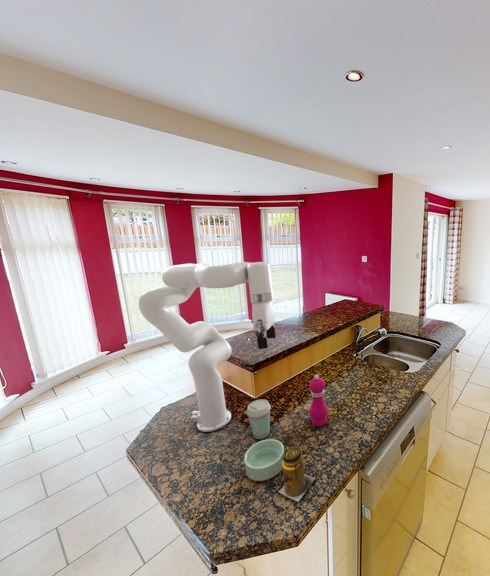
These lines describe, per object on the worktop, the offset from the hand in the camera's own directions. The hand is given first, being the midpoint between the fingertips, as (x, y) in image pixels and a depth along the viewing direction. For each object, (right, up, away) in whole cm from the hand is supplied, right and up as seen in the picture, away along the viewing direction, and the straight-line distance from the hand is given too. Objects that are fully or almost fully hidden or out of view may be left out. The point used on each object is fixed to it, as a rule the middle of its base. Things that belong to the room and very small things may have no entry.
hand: (267, 343), depth 102 cm
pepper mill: (+18, -33, +10) cm, 39 cm away
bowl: (+3, -38, -11) cm, 40 cm away
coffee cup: (-3, -35, +4) cm, 36 cm away
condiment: (+15, -39, -19) cm, 46 cm away
